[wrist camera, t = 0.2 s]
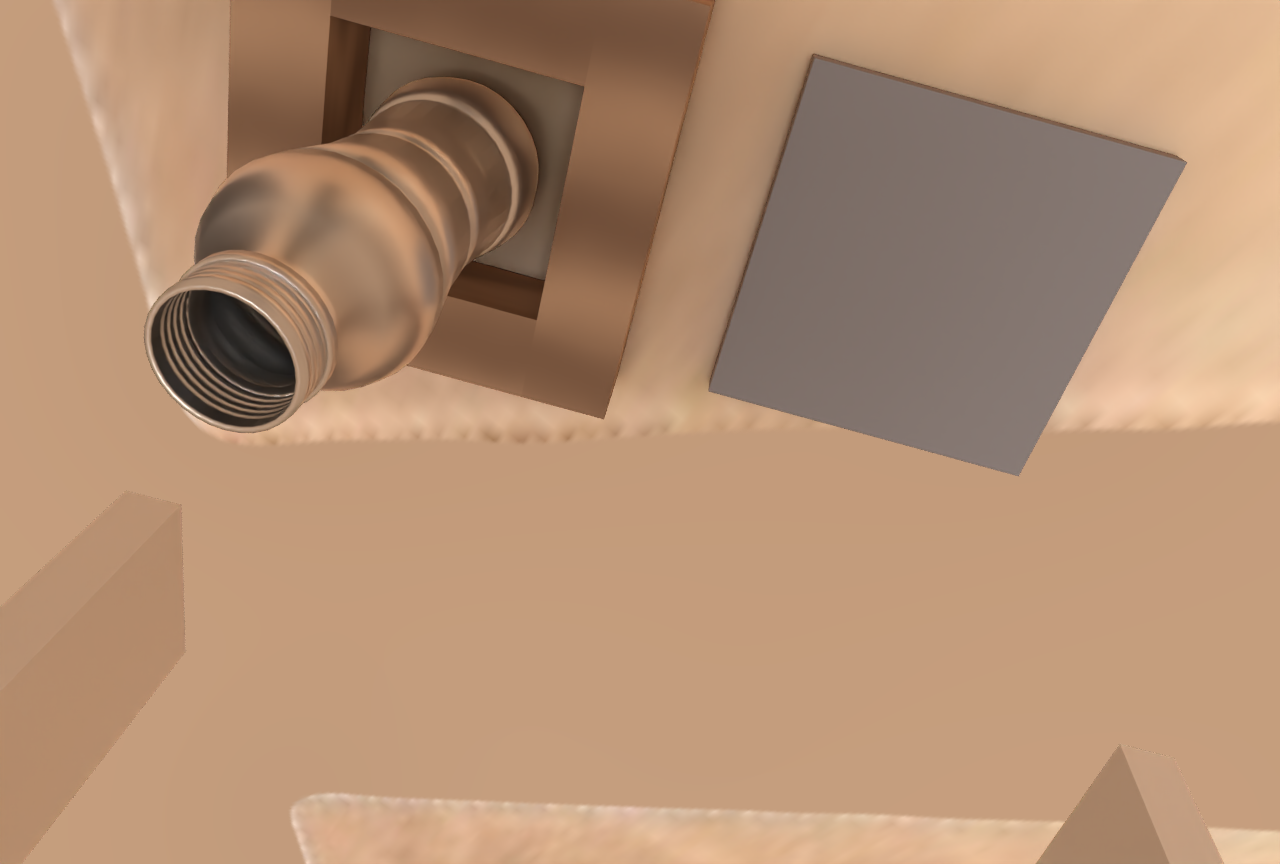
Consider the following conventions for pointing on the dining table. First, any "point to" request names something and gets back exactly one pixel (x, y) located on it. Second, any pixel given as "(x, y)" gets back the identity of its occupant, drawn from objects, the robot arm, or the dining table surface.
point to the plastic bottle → (340, 255)
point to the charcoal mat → (933, 264)
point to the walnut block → (596, 177)
